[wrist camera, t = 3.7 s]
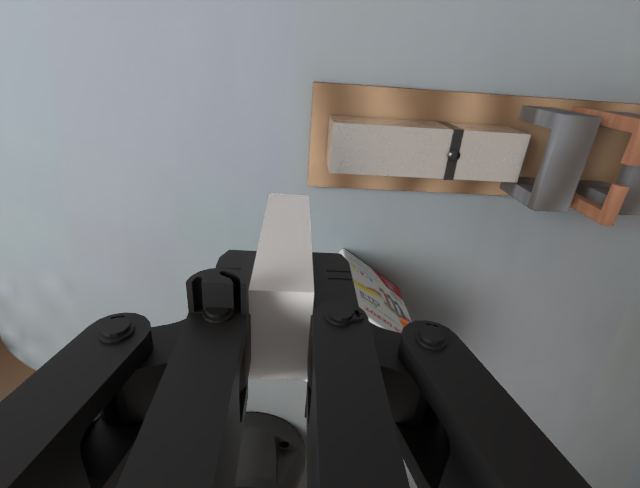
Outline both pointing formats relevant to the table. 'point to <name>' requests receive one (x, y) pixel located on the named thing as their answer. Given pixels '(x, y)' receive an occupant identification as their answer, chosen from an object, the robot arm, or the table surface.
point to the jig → (516, 112)
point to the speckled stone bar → (424, 149)
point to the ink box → (377, 296)
